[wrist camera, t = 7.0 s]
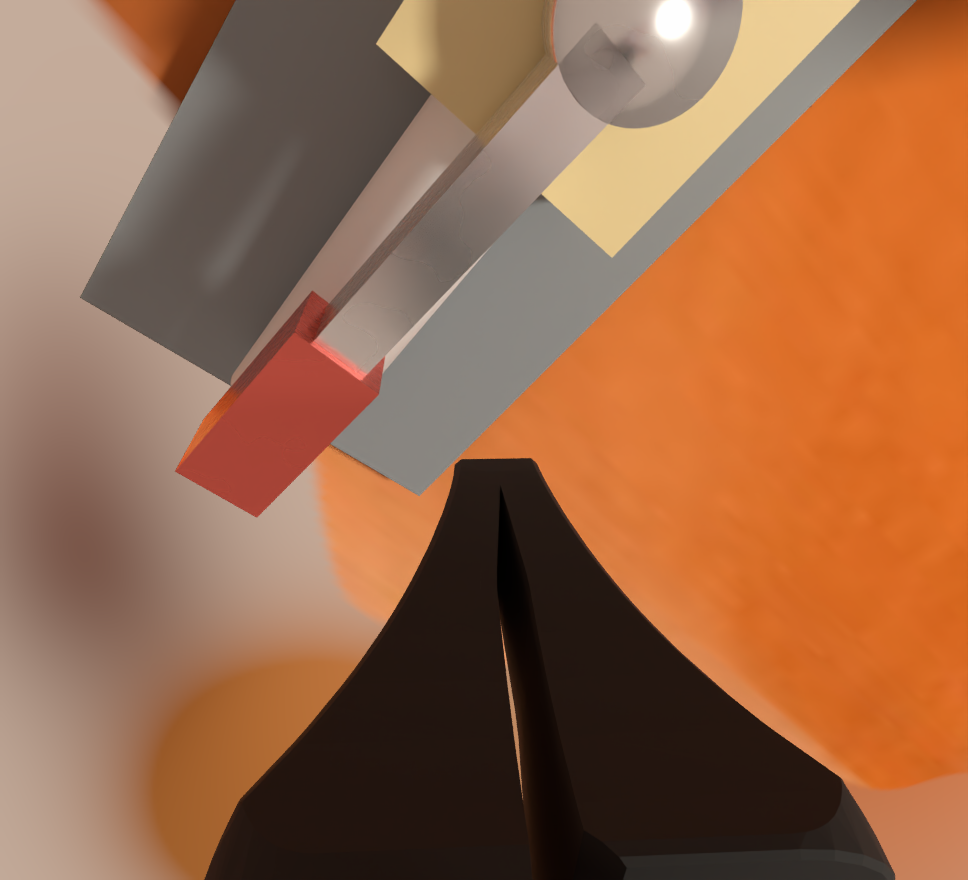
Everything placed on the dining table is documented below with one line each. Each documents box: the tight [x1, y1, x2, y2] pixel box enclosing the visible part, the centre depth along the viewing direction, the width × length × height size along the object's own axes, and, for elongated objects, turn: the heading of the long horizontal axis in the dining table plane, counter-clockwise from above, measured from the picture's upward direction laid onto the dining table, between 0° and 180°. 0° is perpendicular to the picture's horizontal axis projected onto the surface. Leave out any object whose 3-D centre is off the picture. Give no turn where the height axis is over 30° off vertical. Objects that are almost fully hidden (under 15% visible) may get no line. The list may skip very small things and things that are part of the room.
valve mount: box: [80, 0, 917, 496], centre depth 14 cm, size 28×12×6 cm, turn 140°
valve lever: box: [175, 0, 743, 517], centre depth 12 cm, size 3×13×2 cm, turn 136°
